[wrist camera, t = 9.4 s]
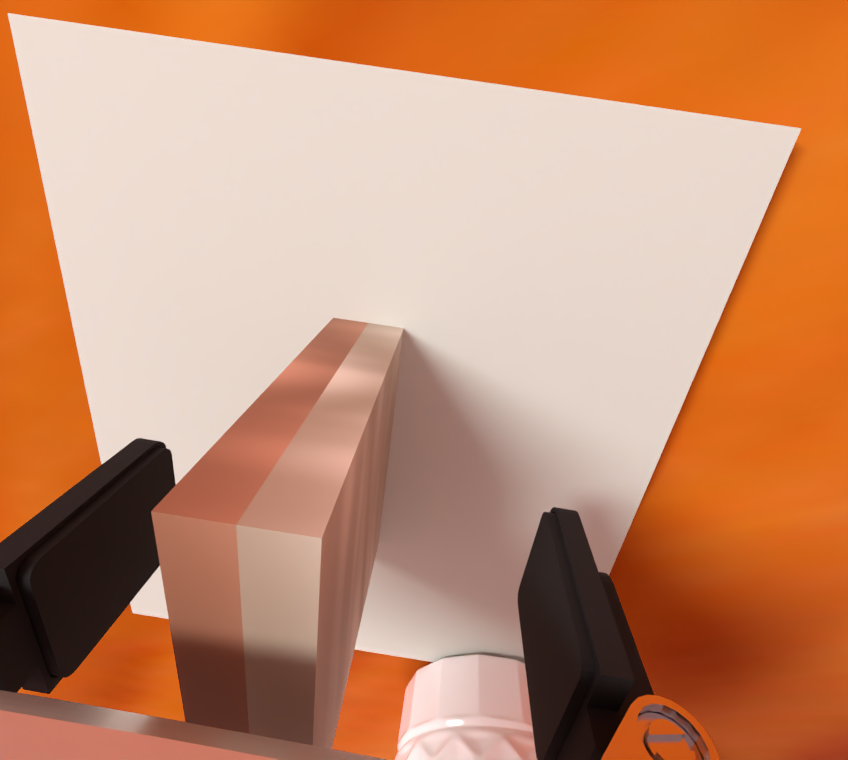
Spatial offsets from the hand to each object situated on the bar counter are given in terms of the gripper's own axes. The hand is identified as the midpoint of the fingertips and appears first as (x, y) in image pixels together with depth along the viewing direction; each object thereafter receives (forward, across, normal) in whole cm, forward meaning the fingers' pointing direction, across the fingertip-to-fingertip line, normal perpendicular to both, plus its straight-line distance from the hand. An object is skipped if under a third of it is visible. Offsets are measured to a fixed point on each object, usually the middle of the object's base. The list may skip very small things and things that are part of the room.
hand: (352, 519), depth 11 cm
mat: (+4, 0, 0) cm, 4 cm away
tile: (+3, +1, 0) cm, 3 cm away
